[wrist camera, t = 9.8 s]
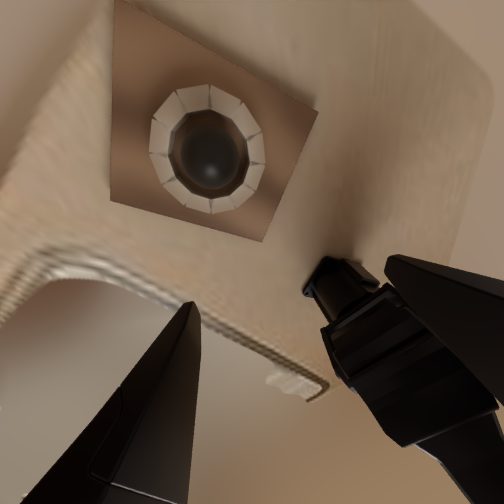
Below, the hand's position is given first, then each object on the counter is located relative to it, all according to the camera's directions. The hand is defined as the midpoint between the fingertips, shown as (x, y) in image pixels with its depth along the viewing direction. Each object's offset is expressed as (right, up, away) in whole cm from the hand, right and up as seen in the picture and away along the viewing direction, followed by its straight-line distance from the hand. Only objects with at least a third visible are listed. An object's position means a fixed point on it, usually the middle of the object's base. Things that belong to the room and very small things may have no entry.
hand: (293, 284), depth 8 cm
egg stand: (-5, +10, +7) cm, 13 cm away
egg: (-5, +9, +7) cm, 13 cm away
